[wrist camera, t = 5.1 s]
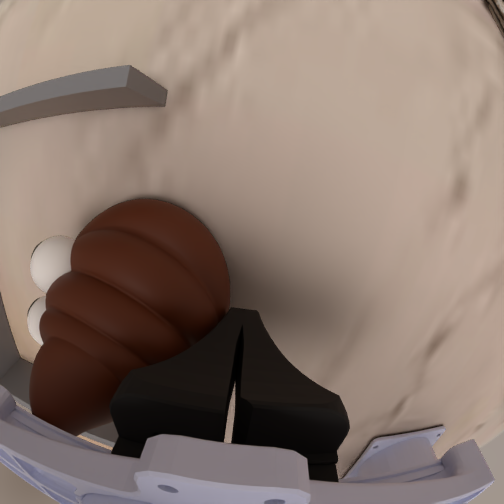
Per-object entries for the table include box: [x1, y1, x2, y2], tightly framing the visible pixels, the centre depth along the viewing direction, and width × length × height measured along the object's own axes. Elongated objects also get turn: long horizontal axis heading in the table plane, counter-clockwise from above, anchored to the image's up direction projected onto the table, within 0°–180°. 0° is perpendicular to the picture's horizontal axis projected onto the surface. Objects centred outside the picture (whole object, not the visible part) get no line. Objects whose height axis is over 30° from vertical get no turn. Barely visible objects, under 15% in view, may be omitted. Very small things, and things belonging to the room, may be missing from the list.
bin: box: [0, 65, 167, 447], centre depth 12 cm, size 20×15×4 cm
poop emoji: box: [27, 199, 230, 436], centre depth 9 cm, size 10×8×9 cm
